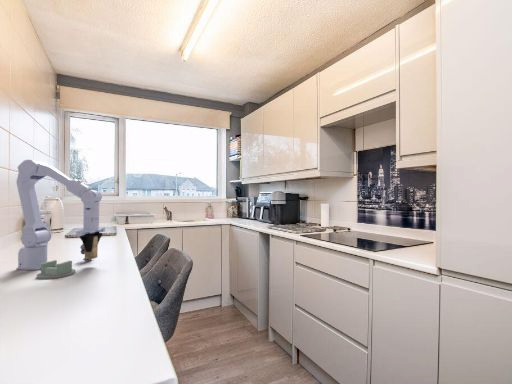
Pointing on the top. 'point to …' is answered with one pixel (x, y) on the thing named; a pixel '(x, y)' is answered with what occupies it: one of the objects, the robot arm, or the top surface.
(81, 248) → the grey lumpy tree figurine
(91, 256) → the tan wooden block
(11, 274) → the top surface
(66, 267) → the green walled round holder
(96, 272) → the top surface
